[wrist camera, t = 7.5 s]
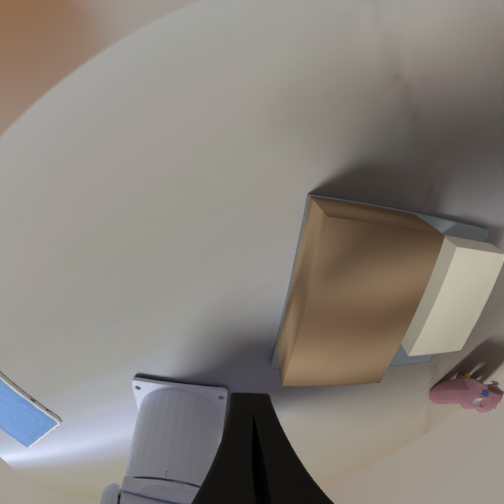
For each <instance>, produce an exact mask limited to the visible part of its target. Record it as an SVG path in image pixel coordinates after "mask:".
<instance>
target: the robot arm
mask: <svg viewBox="0 0 504 504" xmlns="http://www.w3.org/2000/svg"><path fill="white" fill-rule="evenodd" d="M132 387H133V391H134V395H135V400H136V404H137V408H138V412H139V413H138V417H137V422H136V426H135V430H134V435H133V439H132V444H131V448H130V453H129V458H128V463H127V468H126V473H125V476H124V479H123V483H122V487H121V489H119V487H120V485H119V484H115V483H112V484H111V486H110V485H109V486H107V487H105V488H104V491H103V494H102V499H101V503H100V504H334V503H333V502H332V501H331V500H330V499H329V498H328V497H327V496H326V495H325V493H324V492H323V491H322V490H321V489H320V487H319V486H318V485H317V484H316V482H315V481H314V480H313V479H312V477H311V476H310V474H309V473H308V472H307V470H306V469H305V467H304V466H303V464H302V463H301V461H300V460H299V458H298V456H297V455H296V453H295V451H294V450H293V448H292V446H291V444H290V442H289V441H288V439H287V437H286V435H285V433H284V431H283V429H282V427H281V425H280V422H279V420H278V418H277V415H276V413H275V410H274V408H273V405H272V402H271V399H270V396H269V395H268V394H258V393H236V392H234V393H232V394H230V402H229V409H228V416H227V423H226V427H225V430H224V433H223V428H224V420H225V412H226V404H227V396H228V390H227V389H225V388H222V387H210V386H200V385H190V384H181V383H173V382H165V381H158V380H151V379H145V378H138V377H135V378H133V379H132ZM222 435H223V436H222Z"/></svg>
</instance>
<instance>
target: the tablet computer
mask: <svg viewBox="0 0 504 504" xmlns="http://www.w3.org/2000/svg"><path fill="white" fill-rule="evenodd" d="M61 422H62V420H61V419H60V418H59V417H58V416H56V415H55V414H54V413H52V412H51V411H49V410H47V409H46V408H45V407H44V406H42V405H41V404H39V403H38V402H37V401H35V400H34V399H33V398H31V397H30V396H29V395H27V394H26V393H25V392H23V391H22V390H21V389H20V388H18V387H17V386H16V385H15V384H14V383H12V382H11V381H10V380H9V379H8V378H6V377H5V376H4V375H3V374H2V373H1V372H0V428H1V429H2V430H3V431H5V432H6V433H7V434H9V435H10V436H11V437H13V438H14V439H16V440H17V441H19V442H20V443H22V444H23V445H25V446H26V447H31V446H32V445H34V444H35V443H36V442H37V441H39V440H40V439H42V438H43V437H44V436H45V435H47V434H48V433H50V432H51V431H52V430H54V428H56V427H57V426H58V425H60V424H61Z"/></svg>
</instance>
